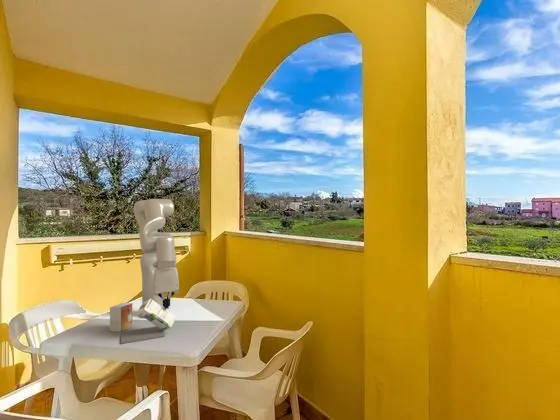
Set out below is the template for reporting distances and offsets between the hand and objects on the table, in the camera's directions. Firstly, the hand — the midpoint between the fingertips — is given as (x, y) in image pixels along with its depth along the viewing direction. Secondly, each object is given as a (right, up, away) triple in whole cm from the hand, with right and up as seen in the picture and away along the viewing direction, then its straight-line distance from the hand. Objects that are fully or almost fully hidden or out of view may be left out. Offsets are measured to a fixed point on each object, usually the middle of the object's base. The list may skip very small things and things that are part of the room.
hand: (166, 308), depth 138 cm
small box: (-22, -11, +5) cm, 25 cm away
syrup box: (+1, -7, +1) cm, 8 cm away
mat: (-9, -10, -3) cm, 14 cm away
